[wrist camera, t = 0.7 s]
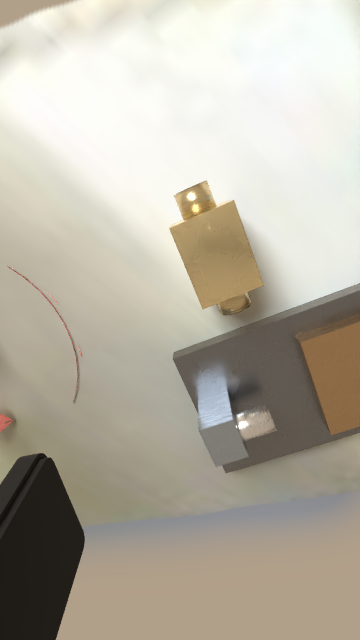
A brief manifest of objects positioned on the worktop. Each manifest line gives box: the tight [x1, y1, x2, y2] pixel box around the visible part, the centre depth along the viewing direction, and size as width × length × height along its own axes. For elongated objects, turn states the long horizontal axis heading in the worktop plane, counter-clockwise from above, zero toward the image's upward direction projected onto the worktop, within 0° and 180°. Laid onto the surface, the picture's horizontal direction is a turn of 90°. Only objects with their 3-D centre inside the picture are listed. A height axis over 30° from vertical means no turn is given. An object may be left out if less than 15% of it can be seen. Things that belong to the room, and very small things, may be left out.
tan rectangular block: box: [169, 181, 264, 315], centre depth 26 cm, size 4×10×7 cm, turn 23°
